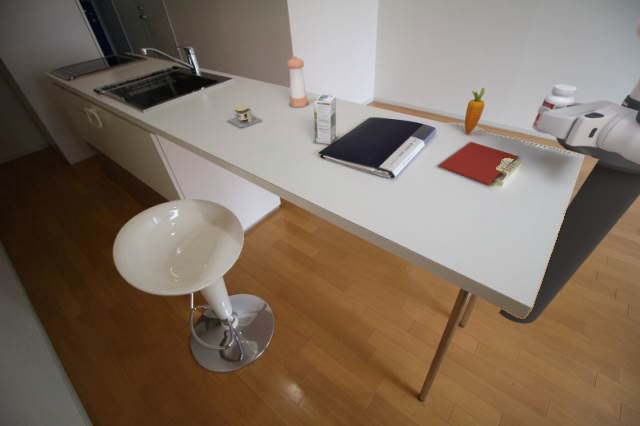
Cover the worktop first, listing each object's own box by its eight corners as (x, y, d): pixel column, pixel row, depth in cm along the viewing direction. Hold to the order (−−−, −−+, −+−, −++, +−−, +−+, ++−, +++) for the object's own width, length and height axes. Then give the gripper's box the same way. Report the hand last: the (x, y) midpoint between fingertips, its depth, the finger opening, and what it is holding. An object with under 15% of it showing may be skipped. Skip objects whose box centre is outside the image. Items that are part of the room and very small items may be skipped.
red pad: (470, 143, 94) (471, 141, 93) (517, 157, 85) (517, 155, 85) (438, 166, 83) (439, 164, 83) (487, 185, 75) (488, 183, 75)
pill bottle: (540, 135, 75) (560, 91, 68) (526, 125, 80) (544, 83, 73) (564, 134, 75) (587, 90, 68) (549, 124, 80) (569, 82, 73)
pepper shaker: (298, 108, 125) (294, 59, 113) (287, 104, 129) (282, 57, 116) (310, 103, 129) (307, 55, 116) (299, 100, 133) (295, 53, 120)
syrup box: (320, 135, 103) (318, 93, 93) (336, 137, 101) (336, 95, 92) (315, 142, 99) (312, 99, 89) (331, 144, 97) (330, 101, 88)
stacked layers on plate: (228, 121, 117) (225, 107, 113) (247, 114, 121) (245, 101, 118) (241, 127, 111) (238, 113, 108) (260, 121, 116) (258, 107, 112)
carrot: (463, 137, 97) (476, 91, 87) (457, 131, 101) (469, 86, 91) (477, 136, 97) (493, 90, 87) (471, 130, 101) (485, 85, 91)
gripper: (651, 105, 64) (589, 88, 74) (580, 119, 60) (525, 99, 70) (633, 132, 68) (577, 112, 78) (565, 147, 64) (515, 124, 74)
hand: (552, 106), depth 74 cm, fingers closed on pill bottle, 6 cm apart
